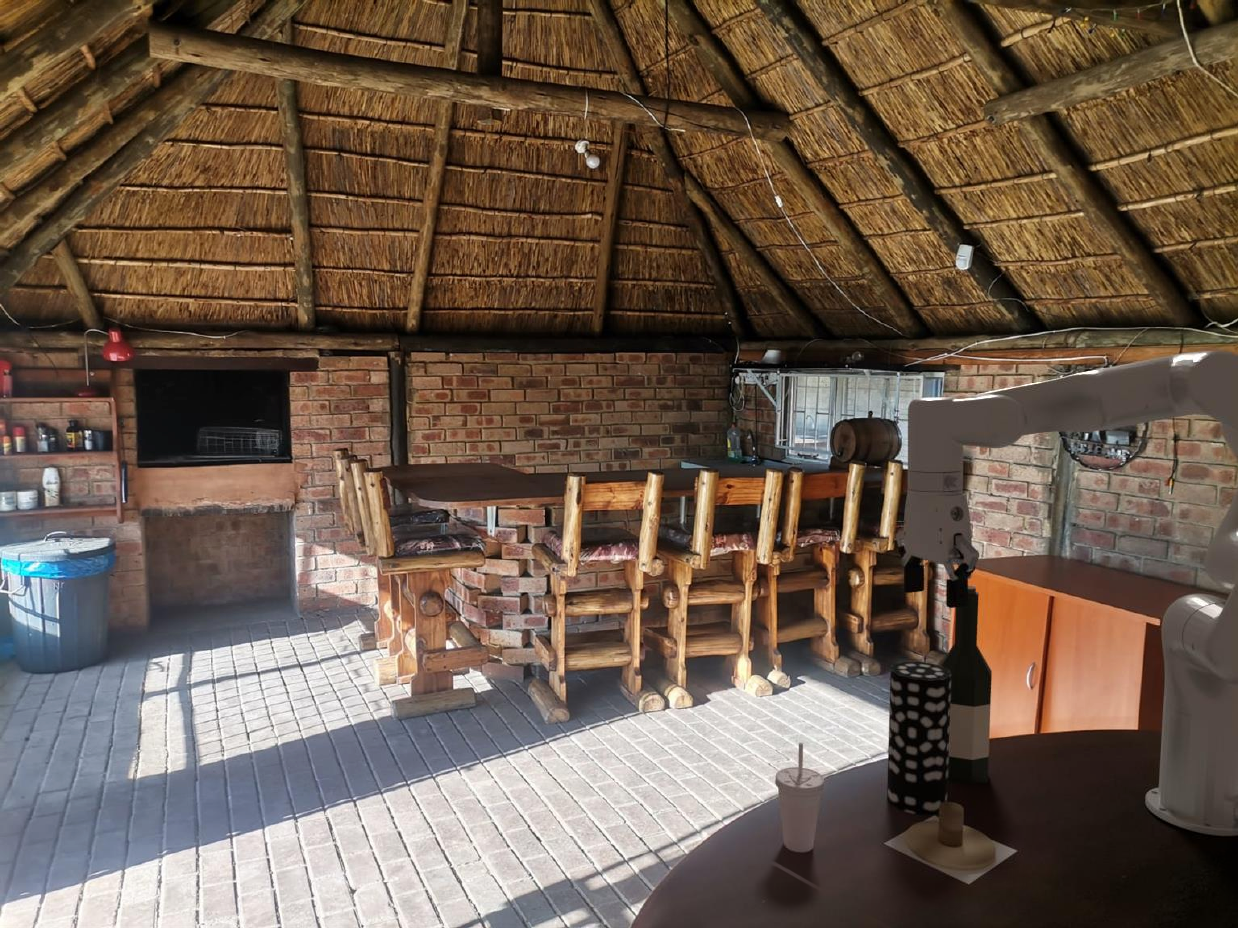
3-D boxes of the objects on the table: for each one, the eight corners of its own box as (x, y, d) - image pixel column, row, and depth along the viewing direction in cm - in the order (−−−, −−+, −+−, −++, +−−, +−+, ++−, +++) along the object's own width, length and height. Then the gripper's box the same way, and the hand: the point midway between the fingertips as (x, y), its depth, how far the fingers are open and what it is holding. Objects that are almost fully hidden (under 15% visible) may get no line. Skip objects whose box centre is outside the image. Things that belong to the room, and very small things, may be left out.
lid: (1011, 850, 113) (1013, 810, 112) (967, 880, 106) (968, 837, 105) (935, 817, 121) (936, 780, 121) (889, 843, 115) (890, 803, 114)
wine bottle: (998, 786, 132) (1006, 593, 129) (943, 785, 132) (950, 593, 129) (977, 762, 140) (984, 581, 137) (925, 762, 140) (931, 581, 137)
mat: (1017, 853, 113) (1017, 850, 113) (968, 886, 105) (968, 883, 105) (933, 817, 122) (933, 815, 122) (883, 846, 115) (884, 843, 115)
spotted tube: (940, 822, 121) (944, 684, 119) (880, 807, 125) (883, 673, 123) (952, 798, 128) (956, 667, 126) (895, 785, 132) (898, 658, 130)
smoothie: (825, 839, 116) (827, 739, 115) (820, 863, 110) (822, 758, 109) (778, 831, 119) (779, 732, 117) (770, 855, 112) (771, 751, 111)
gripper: (999, 487, 117) (998, 610, 119) (919, 476, 134) (919, 584, 135) (952, 490, 115) (952, 615, 117) (877, 478, 132) (878, 588, 133)
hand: (934, 598), depth 126 cm, fingers open, 9 cm apart
